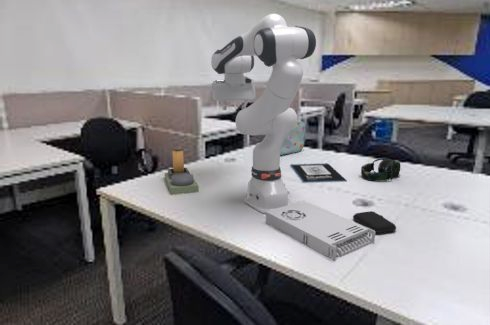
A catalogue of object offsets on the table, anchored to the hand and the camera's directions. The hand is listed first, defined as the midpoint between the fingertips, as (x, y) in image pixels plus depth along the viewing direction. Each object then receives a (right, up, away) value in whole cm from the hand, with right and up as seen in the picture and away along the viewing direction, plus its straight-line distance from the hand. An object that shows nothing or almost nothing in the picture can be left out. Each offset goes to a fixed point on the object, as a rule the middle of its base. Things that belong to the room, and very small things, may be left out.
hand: (234, 109), depth 179 cm
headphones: (+73, -33, +11) cm, 81 cm away
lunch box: (+31, -19, +60) cm, 70 cm away
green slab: (-25, -36, -1) cm, 44 cm away
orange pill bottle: (-27, -31, +3) cm, 41 cm away
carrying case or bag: (+52, -48, -43) cm, 83 cm away
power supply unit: (+30, -50, -48) cm, 76 cm away
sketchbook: (+42, -31, +18) cm, 56 cm away
